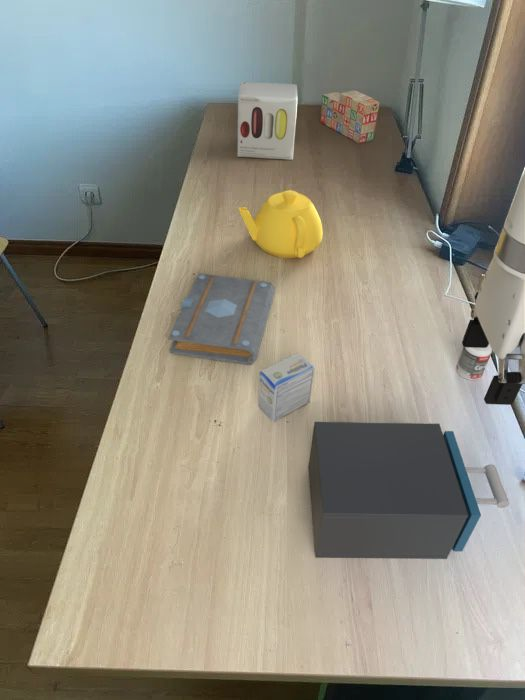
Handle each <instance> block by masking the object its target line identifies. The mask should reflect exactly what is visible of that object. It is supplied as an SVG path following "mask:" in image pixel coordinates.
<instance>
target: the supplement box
mask: <svg viewBox="0 0 525 700" xmlns="http://www.w3.org/2000/svg"><path fill="white" fill-rule="evenodd" d="M238 90H239V91H238V96H237V97H238V98H237V100H238V101H237V147H236V149H237V150H236V151H237V152H236V157H237V158H258V159H259V158H260V159H273V160H288V161H293V160H294V150H295V137H296V126H297V114H298V113H297V112H298V100H299V99H298V84H297V83H296V84H295V83H278V82H256V81H255V82H253V81H240V83H239V89H238Z"/></svg>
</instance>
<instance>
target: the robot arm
mask: <svg viewBox="0 0 525 700" xmlns="http://www.w3.org/2000/svg"><path fill="white" fill-rule="evenodd" d="M477 290H478V291H476V292H475V294H474V307H473V308H472V309H471V311H470V318H471V319H469V322H468V324H467V327H466V330H465V332H464V335H463V338H462V341H461V345H462V347H463V346H464V347H472V348H486V347H488V345H489V344H490V346H491V348H492V352H493V354H494V355H495V356H496V357H497V358H498V370H497V372H498V373H497V374H496V375H493V377H492V379H491V381H490V384H489V386H488V389H487V391H486V393H485V395H484V397H483V400H484V403H485V404H486V405H498V406H499V405H501V406H511V405H513V404H514V403H515V401H516V398H517V397H518V394H519V392H520V390H521V389H522V386H523V385H525V167H524V169H523V171H522V174H521V176H520V180H519V182H518V185H517V187H516V190H515V193H514V196H513V198H512V201H511V204H510V207H509V209H508V212H507V215H506V218H505V220H504V224H503V226H502V229H501V231H500V234H499V237H498V240H497V243H496V245H495V249H494V250H493V257H492V259H491V261H490V262H489V265H488V267H487V270H486V271H485V274H480V275H479V278H478V285H477ZM517 348H519V351H520V353H512V352H513V351H514V350H516V349H517ZM510 360H515V361H516V360H517V361H518V371H509V361H510Z"/></svg>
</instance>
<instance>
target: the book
mask: <svg viewBox="0 0 525 700" xmlns="http://www.w3.org/2000/svg"><path fill="white" fill-rule="evenodd" d="M275 294H276V287H275V286H274V284H273V283H272V282H270V281H263V280H255V279H247V278H239V277H233V276H224V275H216V274H207V273H201V272H199V273H198V274H197V276H196V278H195V280H194V282H193V285H192V286H191V289H190V291H189V293H188V295H187V297H184V298H183V300H182V302H181V304H180V312H179V314H178V316H177V318H176V320H175V323H174V324H173V326H172V329H171V331H170V333H169V335H168V337H167V339H168V340H169V341H173V342H172V344H171V347H170V348H169V354H174V355H181V356H186V357H195V358H201V359H208V360H215V361H220V362H221V361H222V362H229V363H235V364H241V365H242V364H243V365H250V366H252V365H253V364H254V362H256V360H257V358H258V354H259V350H260V347H261V343H262V341H263V336H264V333H265V329H266V326H267V323H268V318H269V316H270V312H271V308H272V304H273V301H274V297H275Z"/></svg>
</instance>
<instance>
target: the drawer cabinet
mask: <svg viewBox="0 0 525 700" xmlns="http://www.w3.org/2000/svg"><path fill="white" fill-rule="evenodd" d="M443 435H444V432H443V431H442V428H441V424H440V423H433V422H432V423H429V422H428V423H427V422H425V423H424V422H368V421H367V422H366V421H365V422H364V421H363V422H362V421H360V422H359V421H314V423H313V430H312V437H311V444H310V452H309V459H308V466H307V469H308V470H307V471H308V482H309V495H310V505H311V506H310V509H311V519H312V520H311V521H312V531H313V544H314V545H313V547H314V557H315V558H316V559H317V558H319V559H320V558H321V559H323V558H325V559H407V560H408V559H409V560H410V559H414V560H415V559H419V560H420V559H421V560H424V559H425V560H428V559H429V560H432V559H433V560H437V559H438V560H447V559H448V557H449V555H450V553H451V551H452V550H453V548H452V547H453V545H454V543H455V541H456V539H457V537H458V535H459V533H460V531H461V529H462V527H463V525H464V523H465V521H466V519H467V517H468V513H467V510H466V507H465V503H464V500H463V497H462V494H461V491H460V488H459V484H458V481H457V478H456V475H455V472H454V468H453V465H452V462H451V459H450V456H449V453H448V449H447V446H446V443H445V440H444V437H443Z"/></svg>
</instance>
